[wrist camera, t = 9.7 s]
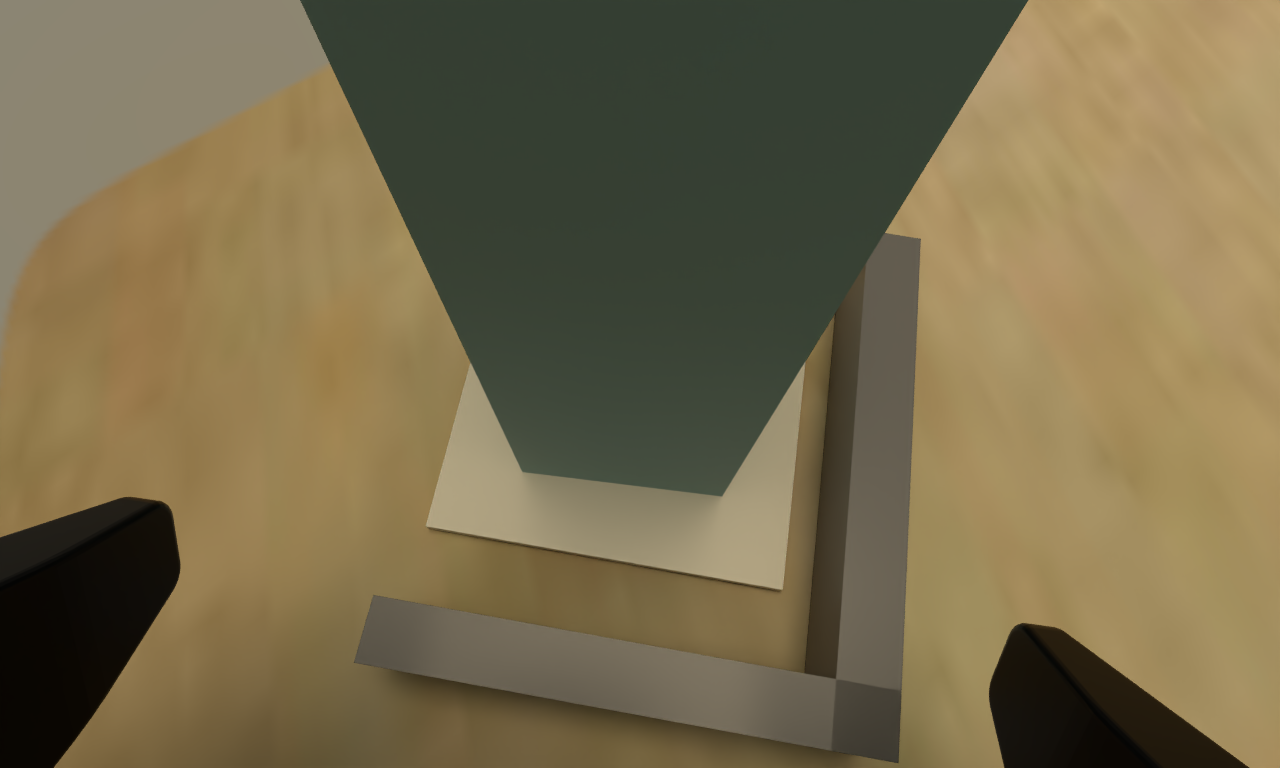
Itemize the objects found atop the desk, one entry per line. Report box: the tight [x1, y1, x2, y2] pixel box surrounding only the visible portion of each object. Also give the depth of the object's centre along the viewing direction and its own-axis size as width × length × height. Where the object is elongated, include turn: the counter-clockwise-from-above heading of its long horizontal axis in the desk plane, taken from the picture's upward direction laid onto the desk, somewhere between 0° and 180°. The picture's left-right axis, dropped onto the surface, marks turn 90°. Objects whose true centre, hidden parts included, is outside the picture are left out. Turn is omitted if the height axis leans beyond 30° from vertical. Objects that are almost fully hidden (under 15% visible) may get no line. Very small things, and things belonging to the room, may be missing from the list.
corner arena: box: [354, 233, 921, 763], centre depth 17 cm, size 11×10×2 cm
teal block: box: [300, 0, 1028, 496], centre depth 11 cm, size 5×5×15 cm
